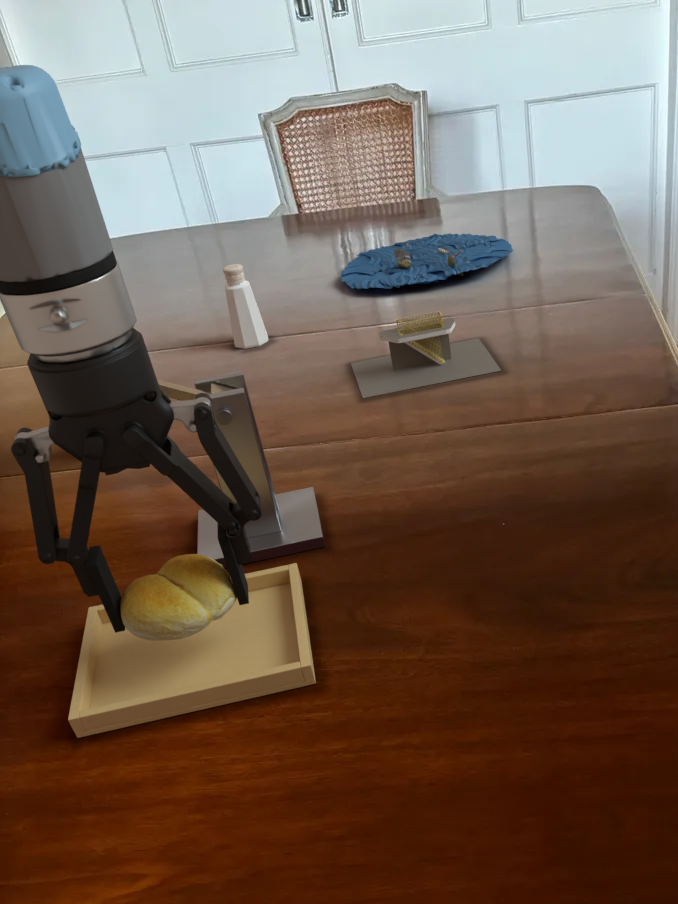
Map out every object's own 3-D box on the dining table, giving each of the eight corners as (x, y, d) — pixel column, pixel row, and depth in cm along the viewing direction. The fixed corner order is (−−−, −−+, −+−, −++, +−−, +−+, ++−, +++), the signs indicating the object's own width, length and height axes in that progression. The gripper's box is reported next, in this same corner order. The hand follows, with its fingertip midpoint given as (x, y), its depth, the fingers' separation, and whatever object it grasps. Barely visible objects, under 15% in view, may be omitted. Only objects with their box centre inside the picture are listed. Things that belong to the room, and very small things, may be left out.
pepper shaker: (259, 331, 135) (241, 257, 128) (276, 340, 131) (258, 264, 125) (227, 343, 133) (206, 268, 126) (243, 352, 129) (222, 275, 122)
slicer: (200, 573, 85) (147, 422, 75) (201, 520, 93) (153, 376, 83) (325, 546, 86) (288, 394, 76) (315, 496, 94) (281, 352, 84)
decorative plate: (304, 286, 154) (296, 255, 151) (433, 235, 168) (429, 206, 165) (413, 311, 134) (407, 276, 131) (549, 251, 148) (546, 219, 145)
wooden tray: (77, 738, 69) (67, 720, 67) (96, 624, 80) (88, 607, 79) (316, 683, 71) (310, 665, 69) (301, 580, 82) (296, 562, 81)
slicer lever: (78, 393, 75) (83, 366, 74) (86, 368, 79) (90, 343, 78) (236, 432, 80) (243, 408, 79) (235, 407, 84) (241, 384, 83)
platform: (501, 370, 114) (497, 320, 110) (362, 398, 112) (353, 348, 108) (478, 338, 123) (474, 290, 119) (350, 363, 121) (341, 315, 118)
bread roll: (109, 620, 73) (92, 581, 70) (203, 568, 77) (190, 529, 75) (159, 662, 68) (142, 621, 65) (257, 604, 72) (244, 563, 70)
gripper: (-106, 395, 55) (38, 667, 68) (249, 328, 57) (320, 605, 71) (-75, 351, 61) (52, 610, 74) (245, 292, 63) (312, 554, 77)
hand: (182, 607), depth 72 cm, fingers closed on bread roll, 9 cm apart
